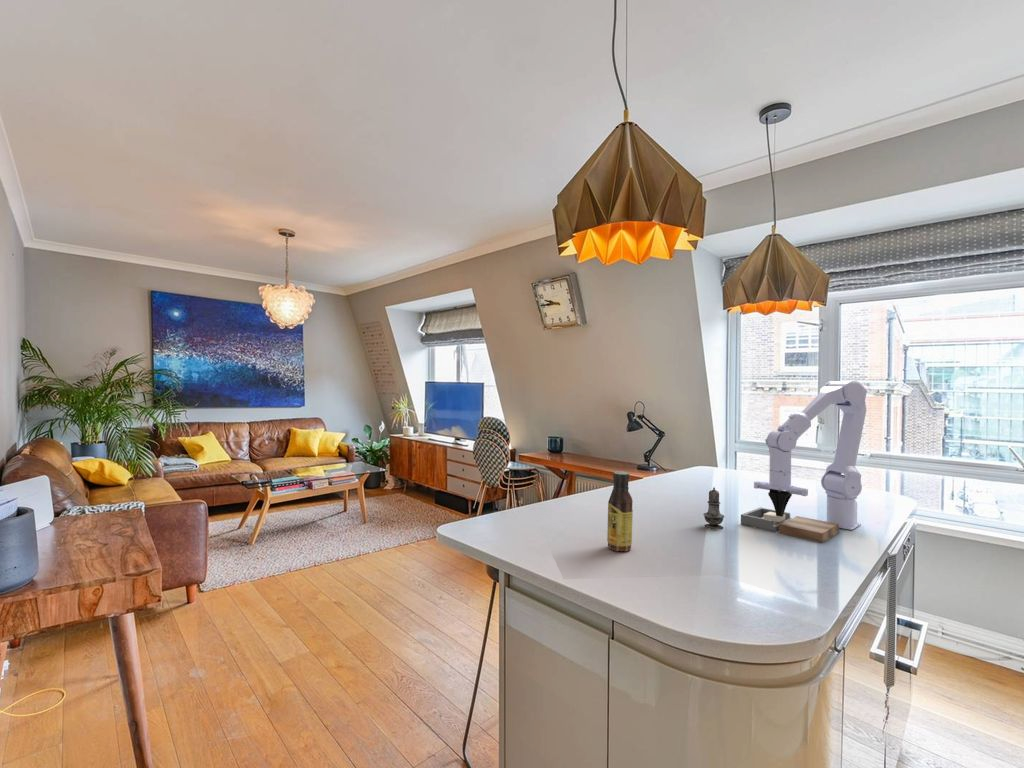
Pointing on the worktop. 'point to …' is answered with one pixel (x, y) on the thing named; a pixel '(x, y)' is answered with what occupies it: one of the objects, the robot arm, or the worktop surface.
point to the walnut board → (809, 528)
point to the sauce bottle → (620, 514)
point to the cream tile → (773, 517)
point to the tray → (761, 519)
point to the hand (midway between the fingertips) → (779, 515)
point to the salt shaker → (713, 511)
